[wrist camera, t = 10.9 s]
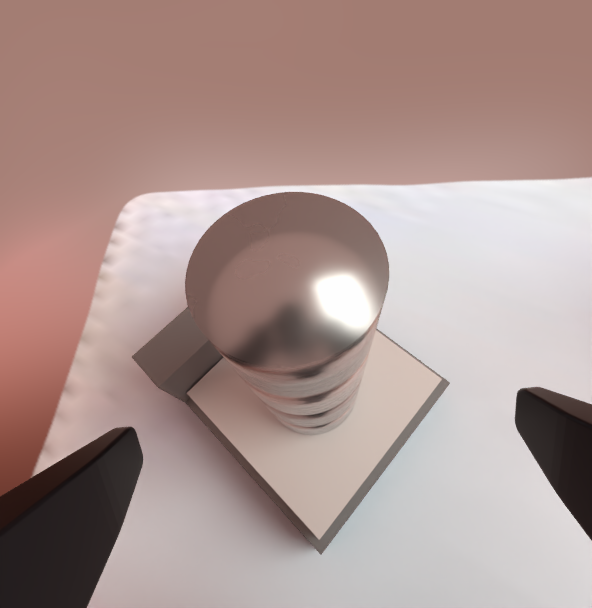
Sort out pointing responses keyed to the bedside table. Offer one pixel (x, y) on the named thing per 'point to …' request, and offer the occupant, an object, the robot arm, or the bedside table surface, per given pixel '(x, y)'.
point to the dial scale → (291, 445)
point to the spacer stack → (292, 302)
